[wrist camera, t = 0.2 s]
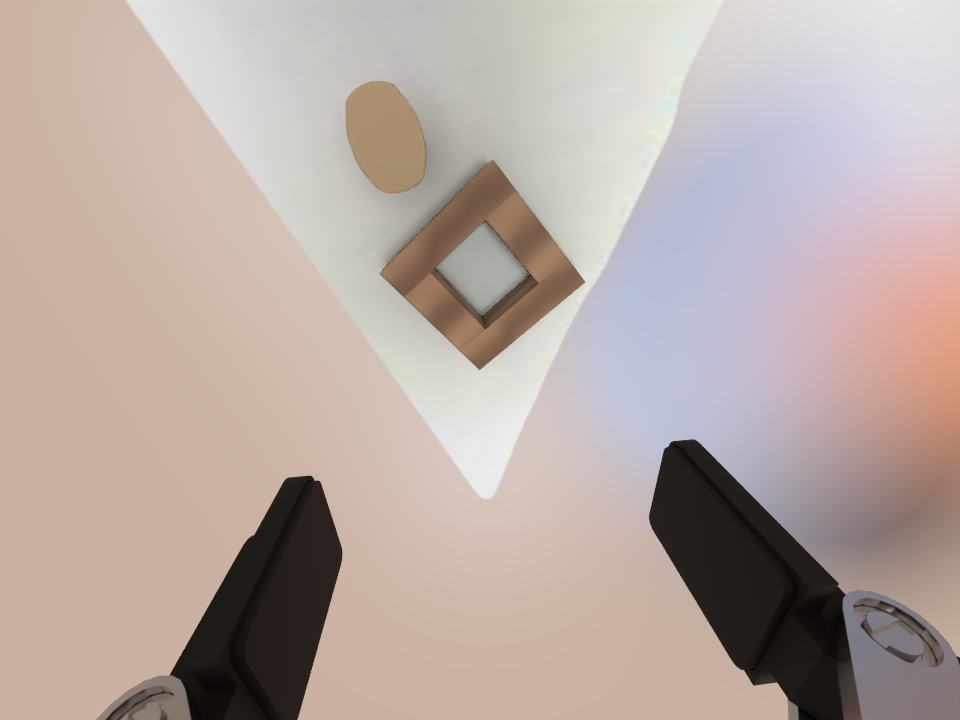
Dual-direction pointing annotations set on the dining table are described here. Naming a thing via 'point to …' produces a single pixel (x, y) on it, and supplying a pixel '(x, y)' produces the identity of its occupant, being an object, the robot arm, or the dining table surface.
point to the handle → (385, 137)
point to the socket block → (521, 235)
